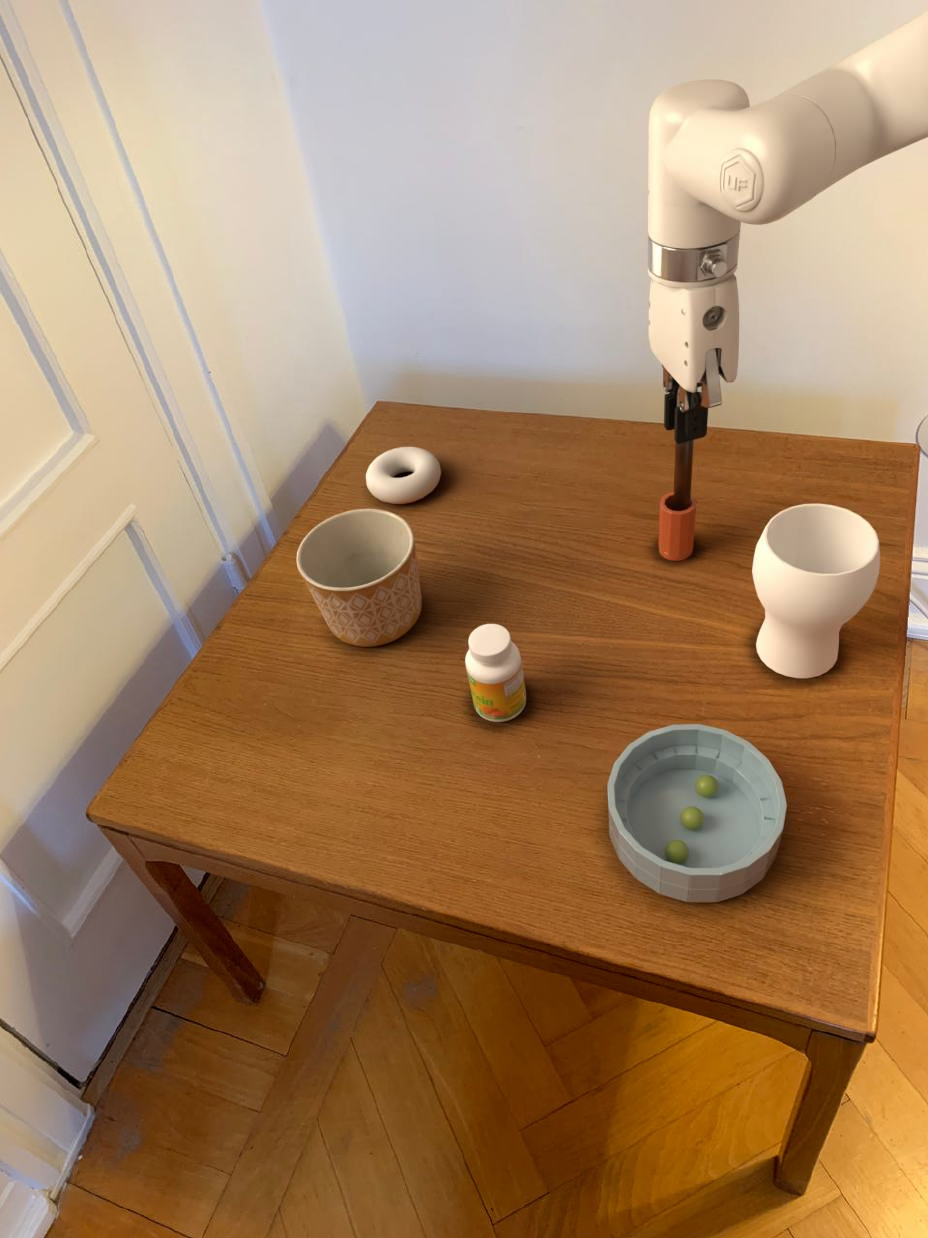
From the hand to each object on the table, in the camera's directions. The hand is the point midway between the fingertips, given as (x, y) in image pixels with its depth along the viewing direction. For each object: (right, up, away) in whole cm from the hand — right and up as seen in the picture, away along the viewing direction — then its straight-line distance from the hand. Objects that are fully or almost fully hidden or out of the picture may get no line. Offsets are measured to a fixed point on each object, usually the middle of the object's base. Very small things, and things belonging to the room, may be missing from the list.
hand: (684, 431), depth 86 cm
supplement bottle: (-19, -27, +1) cm, 33 cm away
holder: (+2, -11, +12) cm, 16 cm away
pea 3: (-1, -34, -11) cm, 35 cm away
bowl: (-2, -37, -11) cm, 39 cm away
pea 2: (-3, -36, -13) cm, 38 cm away
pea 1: (-4, -38, -15) cm, 41 cm away
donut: (-30, -1, +27) cm, 41 cm away
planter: (-32, -19, +12) cm, 39 cm away
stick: (+2, -8, +8) cm, 11 cm away
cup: (+11, -22, 0) cm, 25 cm away
